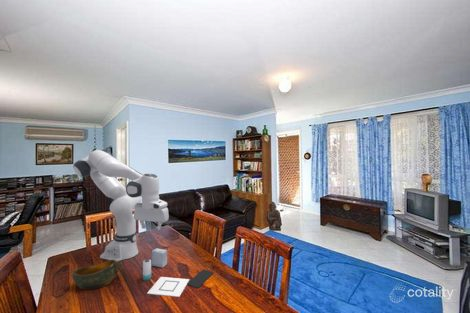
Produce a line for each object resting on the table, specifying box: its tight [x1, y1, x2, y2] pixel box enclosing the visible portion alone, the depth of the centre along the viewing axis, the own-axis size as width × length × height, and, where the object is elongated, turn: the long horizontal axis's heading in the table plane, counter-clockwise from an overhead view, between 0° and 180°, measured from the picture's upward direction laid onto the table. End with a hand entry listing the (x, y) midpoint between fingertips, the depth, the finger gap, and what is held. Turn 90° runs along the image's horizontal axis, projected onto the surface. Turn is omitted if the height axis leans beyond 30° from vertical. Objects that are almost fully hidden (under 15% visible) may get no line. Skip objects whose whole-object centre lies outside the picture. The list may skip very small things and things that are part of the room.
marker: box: [142, 258, 152, 281], centre depth 107 cm, size 4×4×10 cm
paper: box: [146, 276, 190, 298], centre depth 100 cm, size 16×13×1 cm
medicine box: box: [151, 247, 168, 269], centre depth 120 cm, size 8×4×9 cm, turn 71°
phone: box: [186, 269, 214, 289], centre depth 107 cm, size 7×1×15 cm
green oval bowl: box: [71, 260, 124, 290], centre depth 102 cm, size 13×20×10 cm, turn 79°
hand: (151, 228), depth 110 cm, fingers open, 8 cm apart
